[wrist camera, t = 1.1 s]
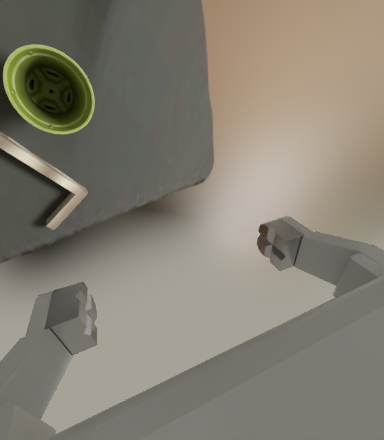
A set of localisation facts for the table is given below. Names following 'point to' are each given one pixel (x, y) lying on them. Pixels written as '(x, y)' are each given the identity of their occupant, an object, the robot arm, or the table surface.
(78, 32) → the table surface
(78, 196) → the beige u-shaped bracket
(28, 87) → the plant pot
